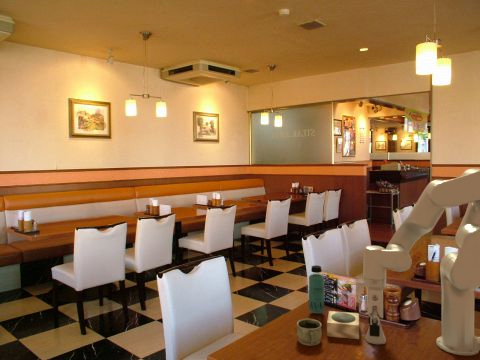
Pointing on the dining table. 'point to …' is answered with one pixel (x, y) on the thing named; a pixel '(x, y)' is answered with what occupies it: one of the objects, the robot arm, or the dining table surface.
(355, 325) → the pedestal
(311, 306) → the beverage bottle
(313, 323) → the vessel
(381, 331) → the flask
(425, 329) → the dining table surface
